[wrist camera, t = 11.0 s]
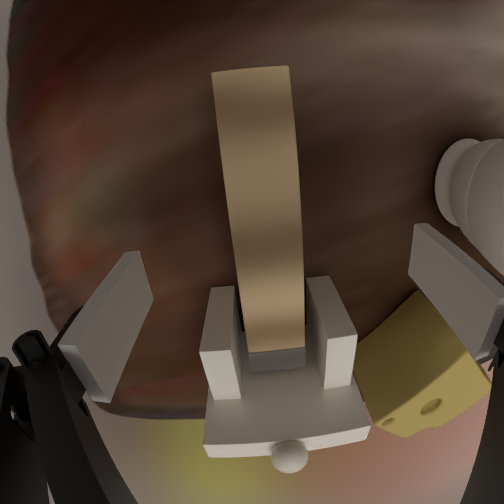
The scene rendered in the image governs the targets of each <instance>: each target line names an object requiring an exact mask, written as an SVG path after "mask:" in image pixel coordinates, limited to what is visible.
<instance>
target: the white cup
mask: <svg viewBox="0 0 504 504" xmlns="http://www.w3.org/2000/svg"><path fill="white" fill-rule="evenodd" d="M435 197H436V201H437V205H438V208H439V210H440V212H441V213H442V215H443V216H444V218H445V219H446V220H447V221H448V222H450V223H451V224H453V225H455V226H458V227H460V229H461V231H462V232H463V234H464V235H465V236H466V237H467V239H468V240H469V241H470V242H471V243H472V244H473V245H474V246H475V247H476V248H477V249H478V250H479V251H480V253H481V254H482V255H483V256H484V257H485V258H486V259H487V261H488V262H489V263H490V264H491V265H492V266H493V267H494V268H495V269H496V270H497V271H499V272H500V273H501V274H502V275H503V276H504V139H491V140H486V141H482V142H479V141H477V140H474V139H462V140H459V141H457V142H455V143H454V144H452V145H451V146H450V147H449V148H448V149H447V150H446V152H445V153H444V155H443V156H442V158H441V160H440V162H439V165H438V168H437V172H436V177H435Z"/></svg>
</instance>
